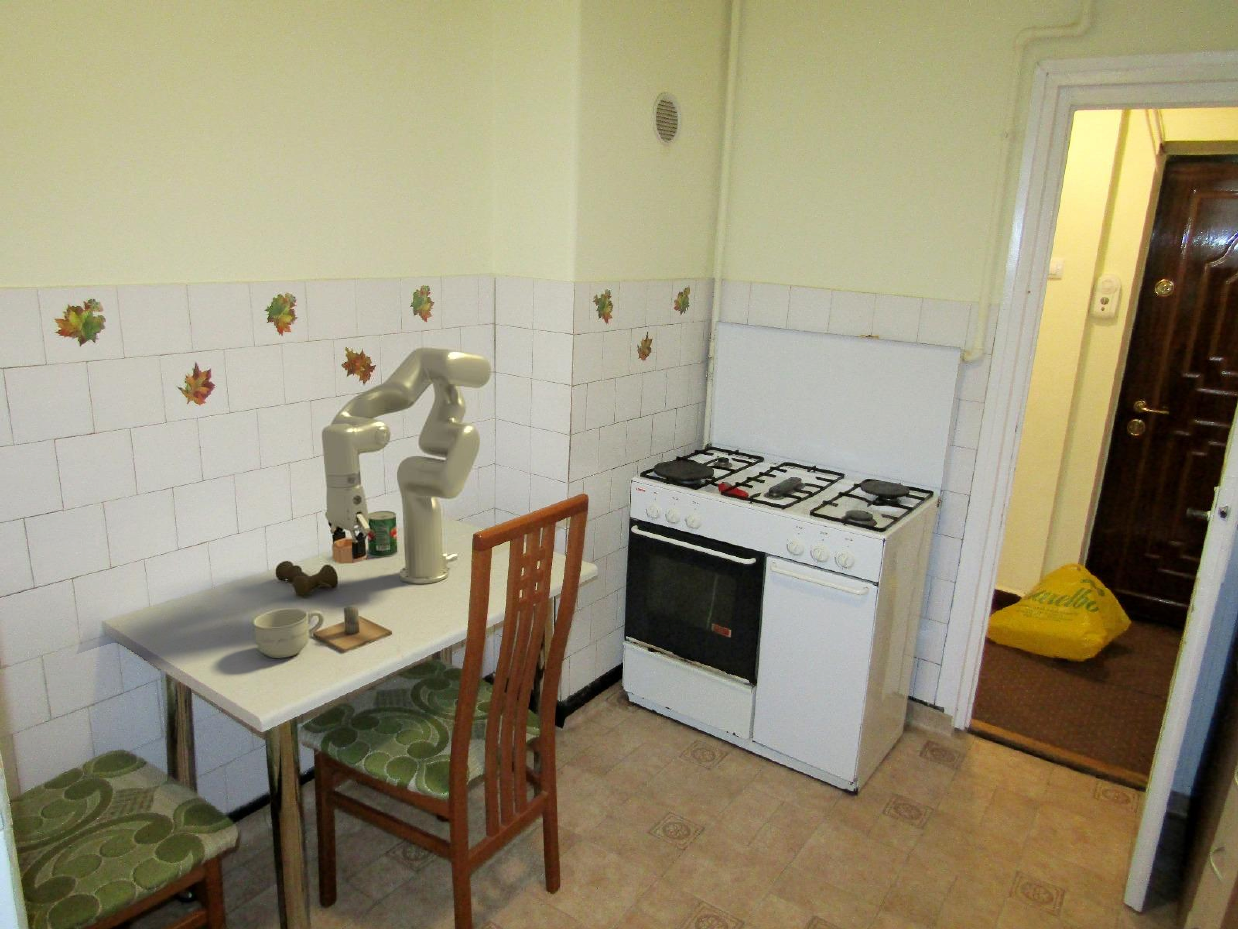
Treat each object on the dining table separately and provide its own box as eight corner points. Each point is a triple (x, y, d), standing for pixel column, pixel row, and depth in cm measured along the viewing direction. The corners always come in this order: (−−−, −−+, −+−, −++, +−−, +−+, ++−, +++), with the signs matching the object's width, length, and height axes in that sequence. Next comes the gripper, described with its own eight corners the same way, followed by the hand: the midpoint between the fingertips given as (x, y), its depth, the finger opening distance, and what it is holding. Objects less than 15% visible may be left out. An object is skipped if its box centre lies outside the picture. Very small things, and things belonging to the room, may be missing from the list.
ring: (354, 549, 209) (353, 535, 208) (371, 556, 204) (370, 542, 203) (328, 558, 203) (326, 543, 202) (345, 565, 199) (344, 550, 198)
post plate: (360, 619, 203) (358, 593, 201) (391, 634, 195) (390, 607, 194) (313, 636, 194) (311, 609, 192) (344, 652, 186) (342, 624, 185)
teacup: (257, 667, 180) (254, 631, 178) (255, 645, 189) (252, 610, 187) (328, 655, 185) (326, 620, 183) (323, 634, 195) (321, 601, 193)
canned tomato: (363, 552, 246) (361, 514, 243) (388, 546, 251) (387, 508, 248) (377, 559, 240) (375, 521, 237) (403, 553, 245) (401, 515, 243)
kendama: (301, 575, 230) (348, 592, 218) (267, 587, 223) (315, 605, 211) (298, 553, 228) (346, 569, 217) (264, 564, 221) (312, 581, 209)
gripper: (380, 482, 196) (386, 557, 201) (336, 468, 207) (342, 540, 212) (351, 490, 191) (357, 567, 196) (307, 475, 201) (314, 548, 206)
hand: (349, 552), depth 204 cm, fingers closed on ring, 7 cm apart
